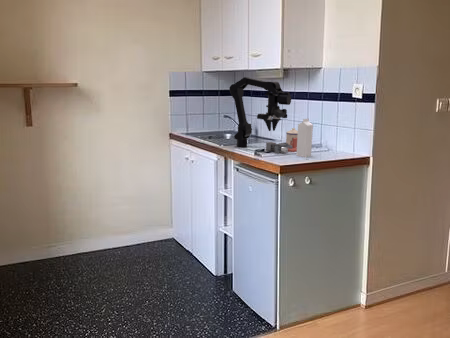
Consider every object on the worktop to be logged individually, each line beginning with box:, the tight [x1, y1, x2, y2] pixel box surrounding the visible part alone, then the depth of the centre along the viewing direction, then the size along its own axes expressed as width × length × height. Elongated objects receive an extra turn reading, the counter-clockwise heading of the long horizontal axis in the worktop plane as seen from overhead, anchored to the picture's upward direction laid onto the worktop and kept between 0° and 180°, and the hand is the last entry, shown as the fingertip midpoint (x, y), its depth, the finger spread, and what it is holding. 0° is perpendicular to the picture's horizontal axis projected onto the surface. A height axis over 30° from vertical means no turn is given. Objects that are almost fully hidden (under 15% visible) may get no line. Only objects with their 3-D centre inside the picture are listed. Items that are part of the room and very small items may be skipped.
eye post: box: [274, 142, 289, 155], centre depth 265 cm, size 2×8×5 cm, turn 126°
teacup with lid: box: [285, 127, 298, 146], centre depth 296 cm, size 12×9×12 cm
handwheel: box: [288, 138, 297, 153], centre depth 274 cm, size 12×9×7 cm
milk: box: [296, 118, 314, 160], centre depth 256 cm, size 6×6×22 cm
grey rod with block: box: [265, 141, 288, 152], centre depth 268 cm, size 15×4×4 cm, turn 36°
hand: (271, 130), depth 270 cm, fingers open, 3 cm apart
